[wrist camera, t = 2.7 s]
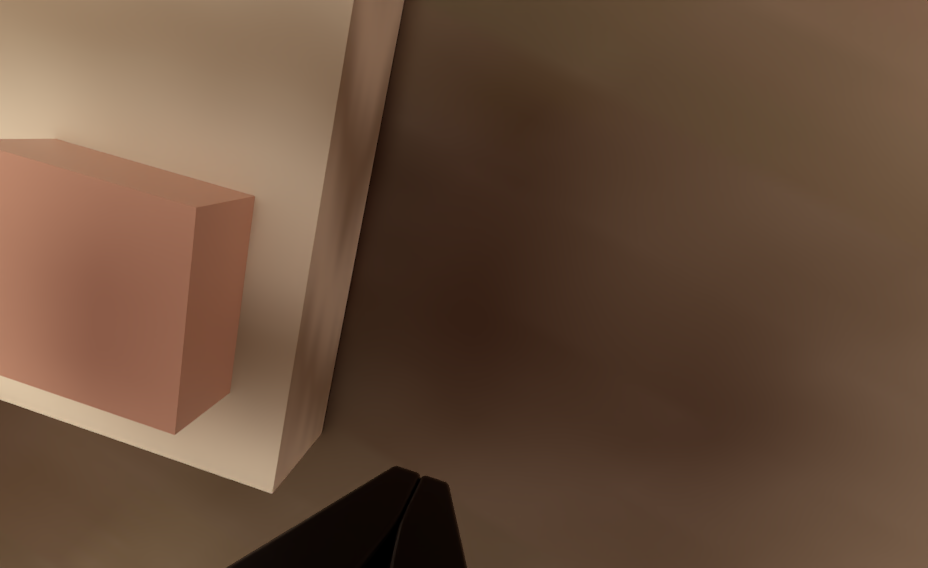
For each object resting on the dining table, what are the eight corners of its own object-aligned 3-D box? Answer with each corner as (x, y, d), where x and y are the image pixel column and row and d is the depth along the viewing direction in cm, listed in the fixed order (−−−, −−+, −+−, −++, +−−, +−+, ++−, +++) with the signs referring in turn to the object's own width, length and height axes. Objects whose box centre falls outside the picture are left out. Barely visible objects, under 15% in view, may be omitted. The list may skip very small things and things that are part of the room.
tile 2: (230, 392, 13) (174, 435, 12) (52, 334, 14) (-29, 365, 12) (255, 196, 12) (196, 207, 10) (55, 138, 12) (-37, 139, 11)
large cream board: (321, 433, 17) (272, 493, 14) (-13, 322, 18) (-121, 357, 15) (481, -406, 11) (452, -597, 8) (-34, -487, 12) (-217, -677, 9)
